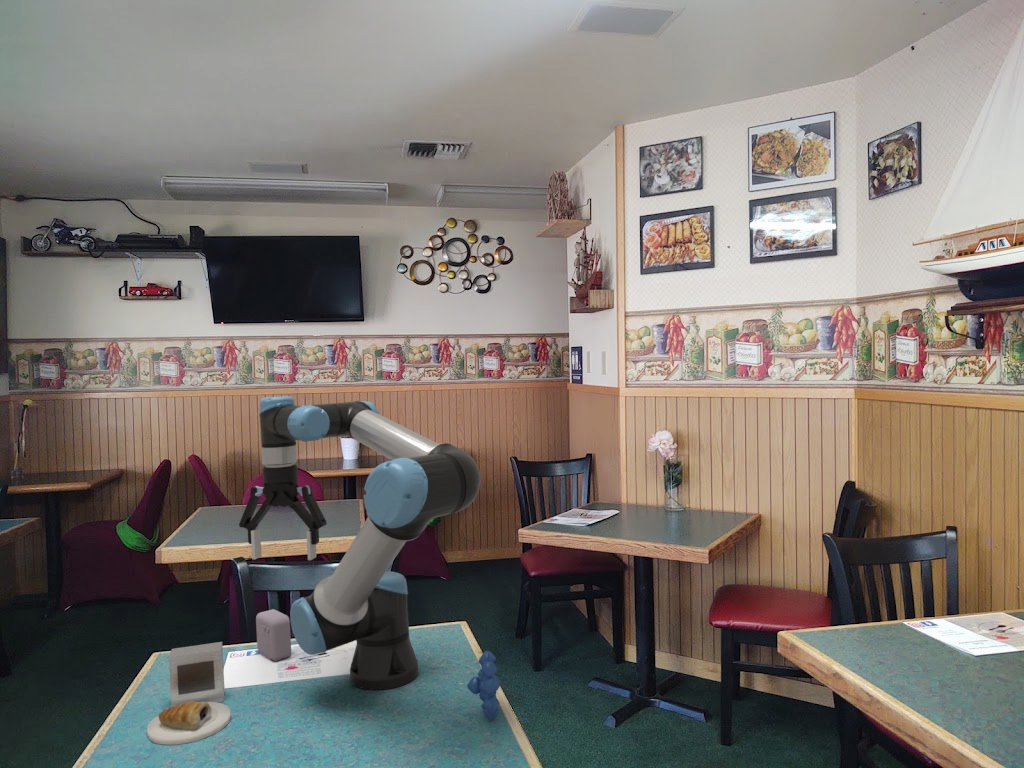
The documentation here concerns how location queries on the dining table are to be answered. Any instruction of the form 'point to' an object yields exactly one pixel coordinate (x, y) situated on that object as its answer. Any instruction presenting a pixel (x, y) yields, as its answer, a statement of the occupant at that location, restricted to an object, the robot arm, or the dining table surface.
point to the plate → (177, 736)
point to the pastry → (186, 715)
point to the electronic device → (273, 634)
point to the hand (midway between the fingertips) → (284, 558)
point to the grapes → (487, 685)
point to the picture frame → (197, 674)
